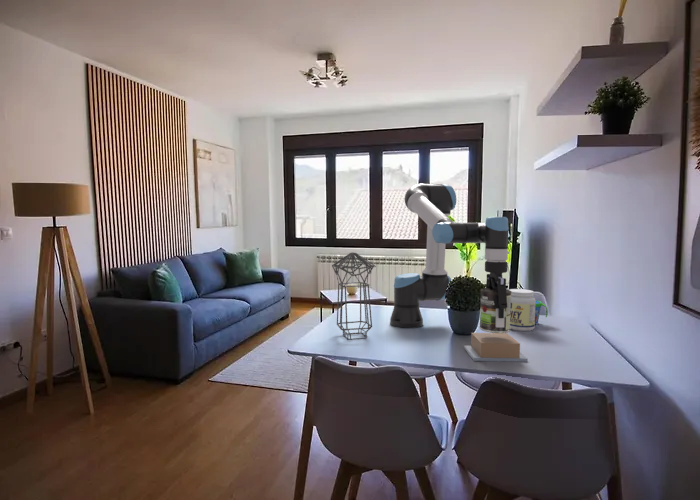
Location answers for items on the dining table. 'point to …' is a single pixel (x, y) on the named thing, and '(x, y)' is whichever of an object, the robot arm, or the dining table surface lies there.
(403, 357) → the dining table surface
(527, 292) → the supplement tub
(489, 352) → the tower base
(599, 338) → the dining table surface
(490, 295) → the coffee can
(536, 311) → the snack cup
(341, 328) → the geometric lantern
